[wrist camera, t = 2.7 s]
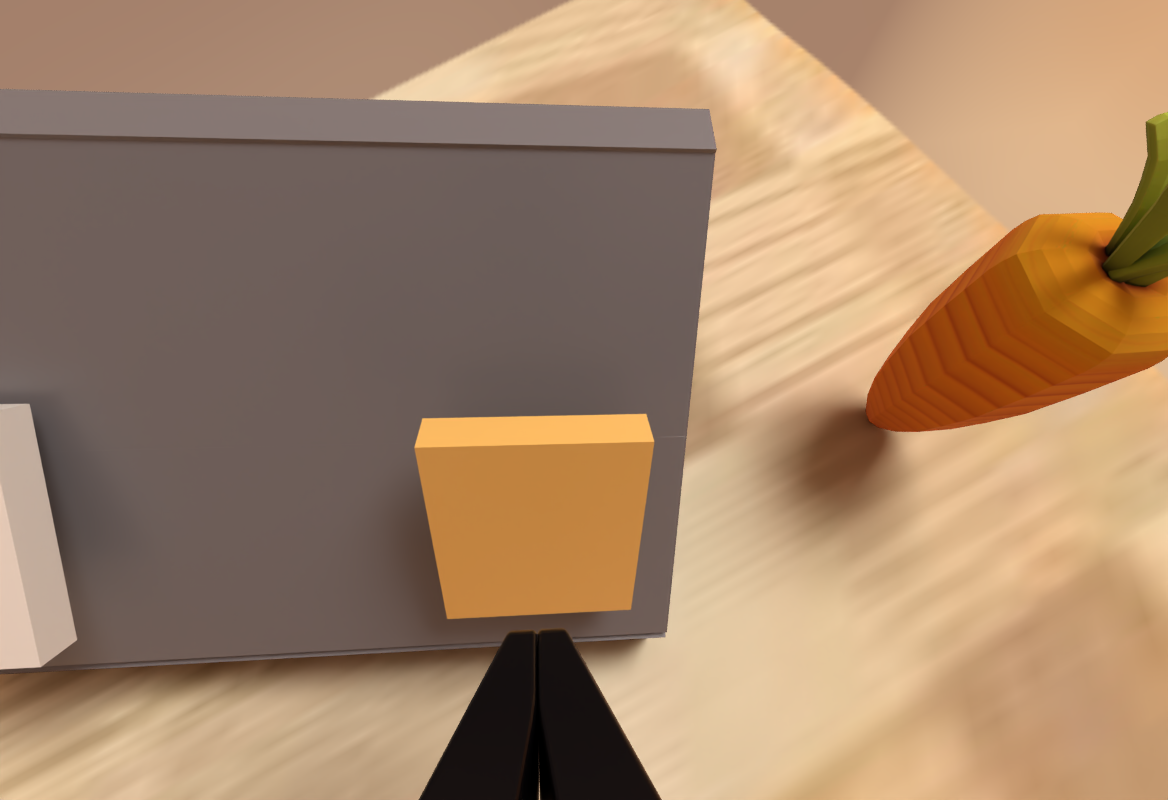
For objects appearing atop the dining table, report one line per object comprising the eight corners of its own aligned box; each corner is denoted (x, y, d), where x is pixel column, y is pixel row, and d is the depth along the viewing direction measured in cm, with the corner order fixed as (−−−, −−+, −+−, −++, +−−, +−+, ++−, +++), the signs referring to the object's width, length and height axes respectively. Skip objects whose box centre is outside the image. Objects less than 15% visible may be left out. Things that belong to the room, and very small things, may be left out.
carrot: (812, 453, 23) (1214, 205, 9) (825, 355, 25) (1177, 28, 11) (925, 487, 23) (1513, 287, 9) (930, 386, 25) (1422, 91, 11)
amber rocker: (627, 604, 16) (666, 654, 11) (451, 613, 15) (409, 668, 10) (619, 434, 16) (652, 409, 12) (453, 438, 16) (414, 413, 11)
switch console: (649, 634, 20) (812, 659, 8) (5, 670, 18) (-1065, 774, 6) (625, 357, 24) (707, 101, 12) (103, 363, 22) (-408, 67, 10)
